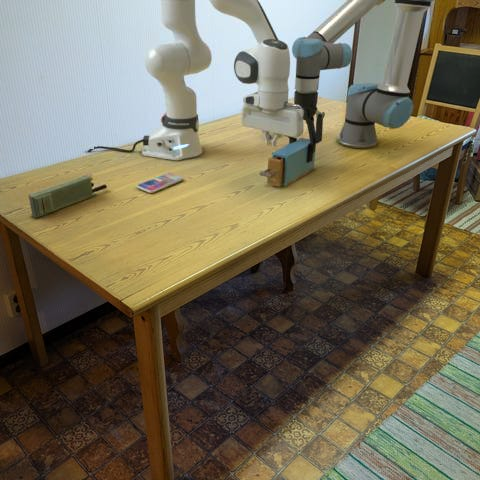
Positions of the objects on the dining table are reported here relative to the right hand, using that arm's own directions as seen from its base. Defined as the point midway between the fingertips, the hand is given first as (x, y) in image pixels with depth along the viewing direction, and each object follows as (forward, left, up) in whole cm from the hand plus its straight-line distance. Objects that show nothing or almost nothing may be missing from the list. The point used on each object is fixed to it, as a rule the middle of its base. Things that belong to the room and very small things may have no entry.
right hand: (301, 159), depth 173 cm
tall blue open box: (+5, 0, -4) cm, 7 cm away
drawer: (+11, +1, -4) cm, 12 cm away
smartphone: (+39, -28, -4) cm, 49 cm away
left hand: (+20, +1, +10) cm, 23 cm away
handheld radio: (+66, -38, -4) cm, 76 cm away
